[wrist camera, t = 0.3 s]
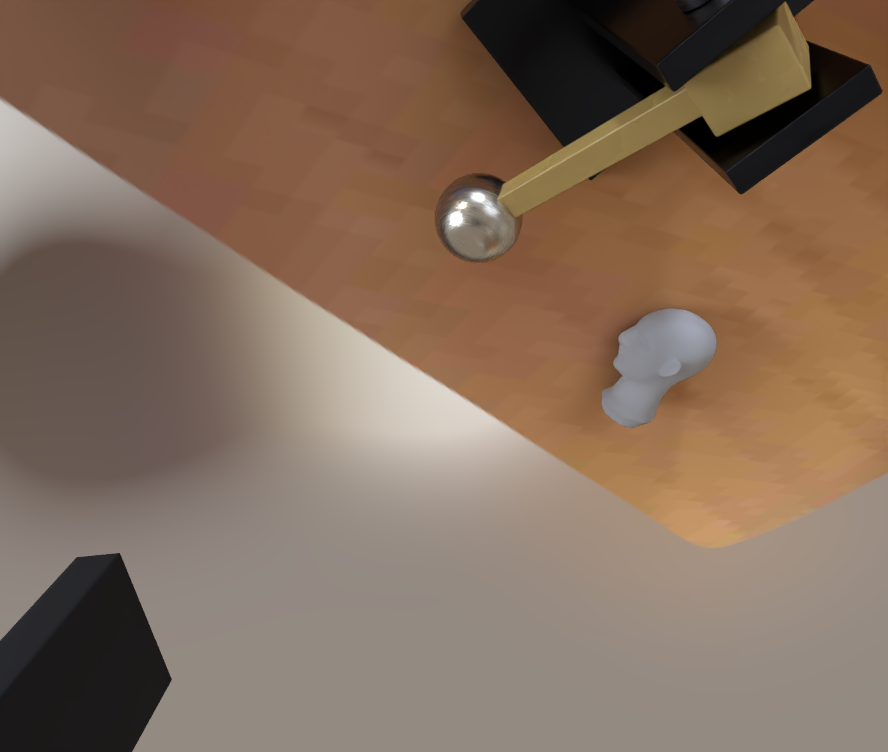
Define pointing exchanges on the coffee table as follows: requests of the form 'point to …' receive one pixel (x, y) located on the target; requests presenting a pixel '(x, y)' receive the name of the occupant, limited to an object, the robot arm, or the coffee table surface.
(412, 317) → the coffee table surface
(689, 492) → the coffee table surface
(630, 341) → the smooth white sculpture
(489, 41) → the bracket
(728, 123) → the silver ball pendulum
